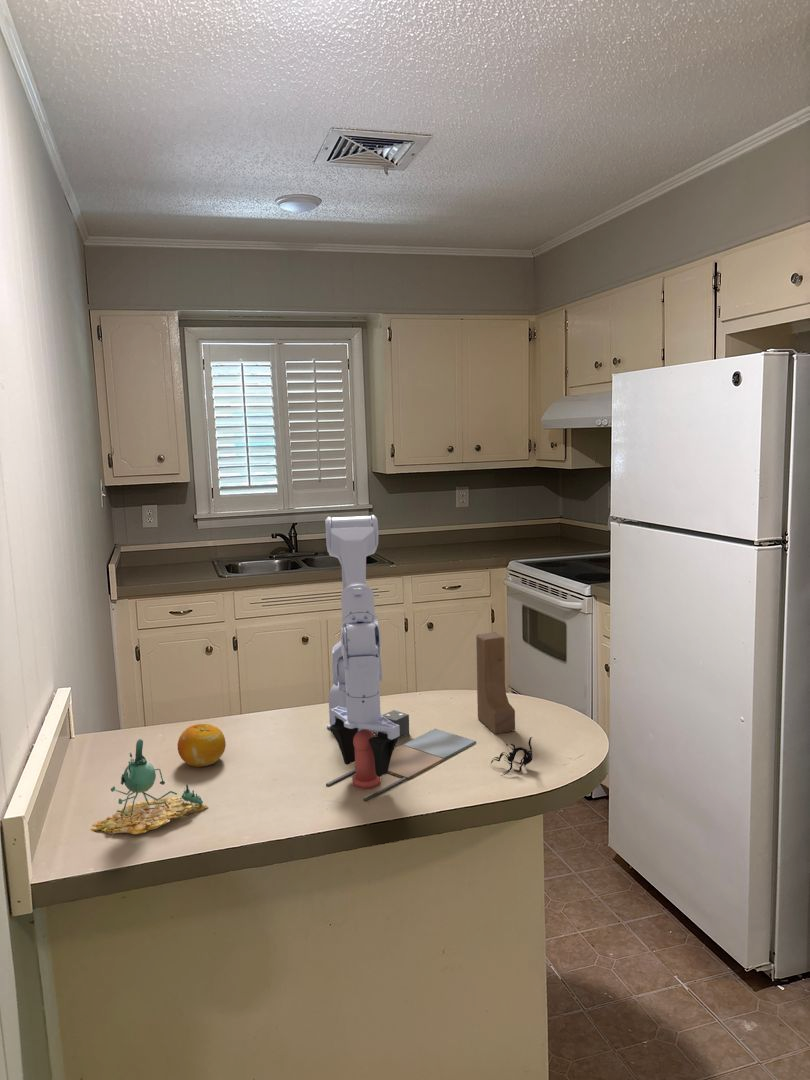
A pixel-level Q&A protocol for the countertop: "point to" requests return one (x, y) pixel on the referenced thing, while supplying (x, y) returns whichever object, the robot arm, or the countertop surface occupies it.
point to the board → (419, 756)
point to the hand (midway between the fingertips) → (365, 768)
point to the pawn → (364, 761)
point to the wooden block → (493, 684)
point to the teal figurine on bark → (148, 812)
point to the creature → (526, 758)
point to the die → (399, 721)
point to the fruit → (201, 745)
